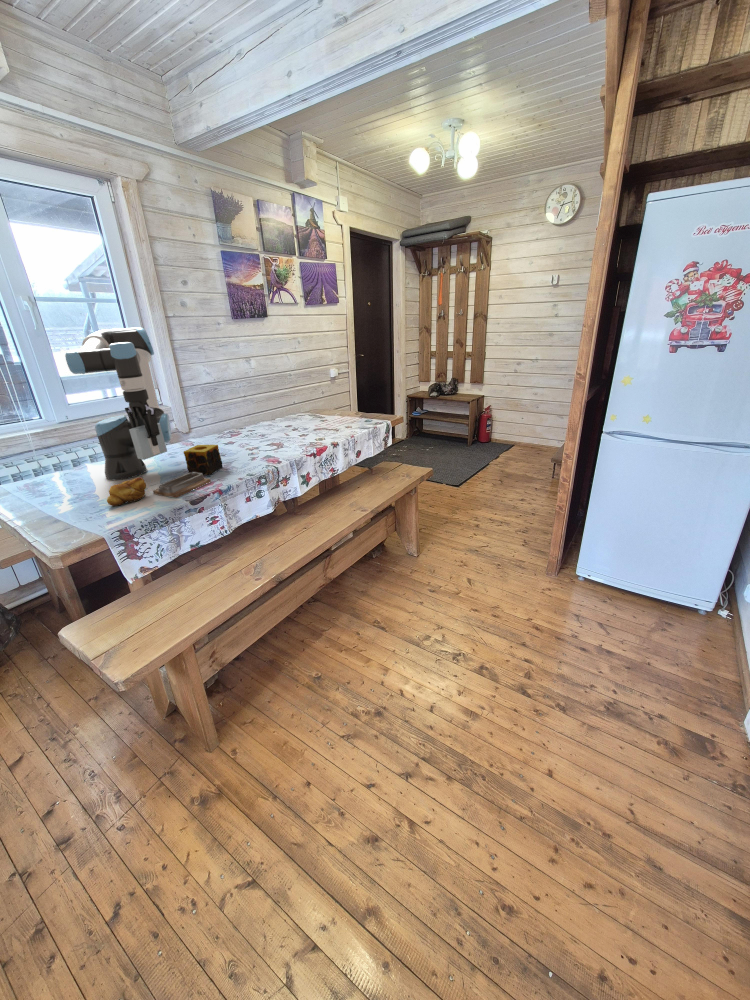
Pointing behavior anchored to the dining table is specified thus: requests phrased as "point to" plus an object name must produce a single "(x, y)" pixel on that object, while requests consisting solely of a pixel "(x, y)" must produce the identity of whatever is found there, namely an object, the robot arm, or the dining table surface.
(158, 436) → the grey upright block
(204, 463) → the candle
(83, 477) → the dining table surface
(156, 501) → the dining table surface
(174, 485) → the track
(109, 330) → the robot arm
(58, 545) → the dining table surface
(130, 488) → the bread roll
